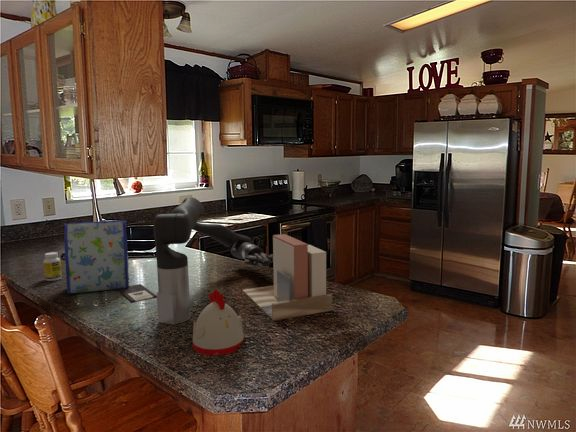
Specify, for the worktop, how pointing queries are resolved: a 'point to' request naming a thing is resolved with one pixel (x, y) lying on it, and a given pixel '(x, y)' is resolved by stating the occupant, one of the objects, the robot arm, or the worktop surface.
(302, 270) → the terracotta book
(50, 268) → the pill bottle
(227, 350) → the kitchen timer
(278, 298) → the bookend
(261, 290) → the rack
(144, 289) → the chocolate bar
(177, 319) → the robot arm
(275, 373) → the worktop surface
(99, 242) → the lunch bag
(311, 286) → the cream book
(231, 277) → the worktop surface
